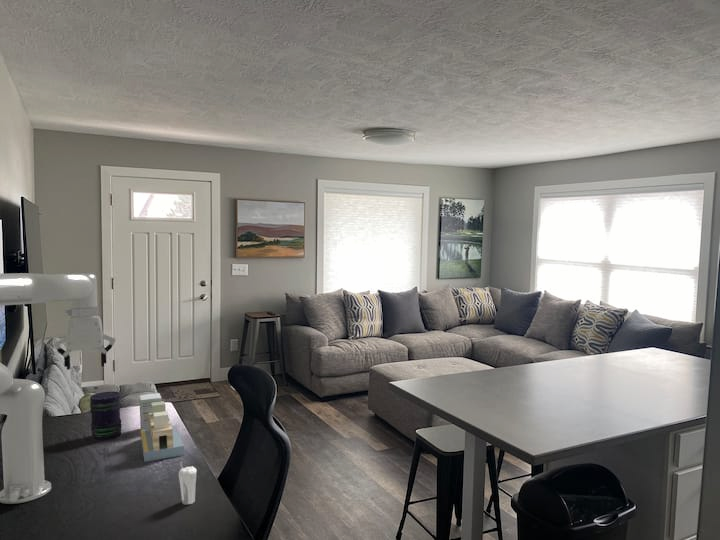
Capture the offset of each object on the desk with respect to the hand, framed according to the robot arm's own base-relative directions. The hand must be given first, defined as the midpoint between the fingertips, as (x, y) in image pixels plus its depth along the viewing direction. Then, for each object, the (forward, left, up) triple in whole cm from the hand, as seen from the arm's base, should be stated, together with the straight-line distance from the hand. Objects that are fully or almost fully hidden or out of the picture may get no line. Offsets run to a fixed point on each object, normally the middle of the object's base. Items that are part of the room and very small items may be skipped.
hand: (85, 367), depth 171 cm
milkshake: (-43, -25, -30) cm, 58 cm away
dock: (+2, -22, -30) cm, 37 cm away
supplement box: (+22, -20, -30) cm, 42 cm away
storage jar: (+22, -5, -30) cm, 38 cm away
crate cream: (-4, -21, -21) cm, 30 cm away
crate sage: (+8, -21, -21) cm, 31 cm away
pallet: (+2, -21, -27) cm, 34 cm away
